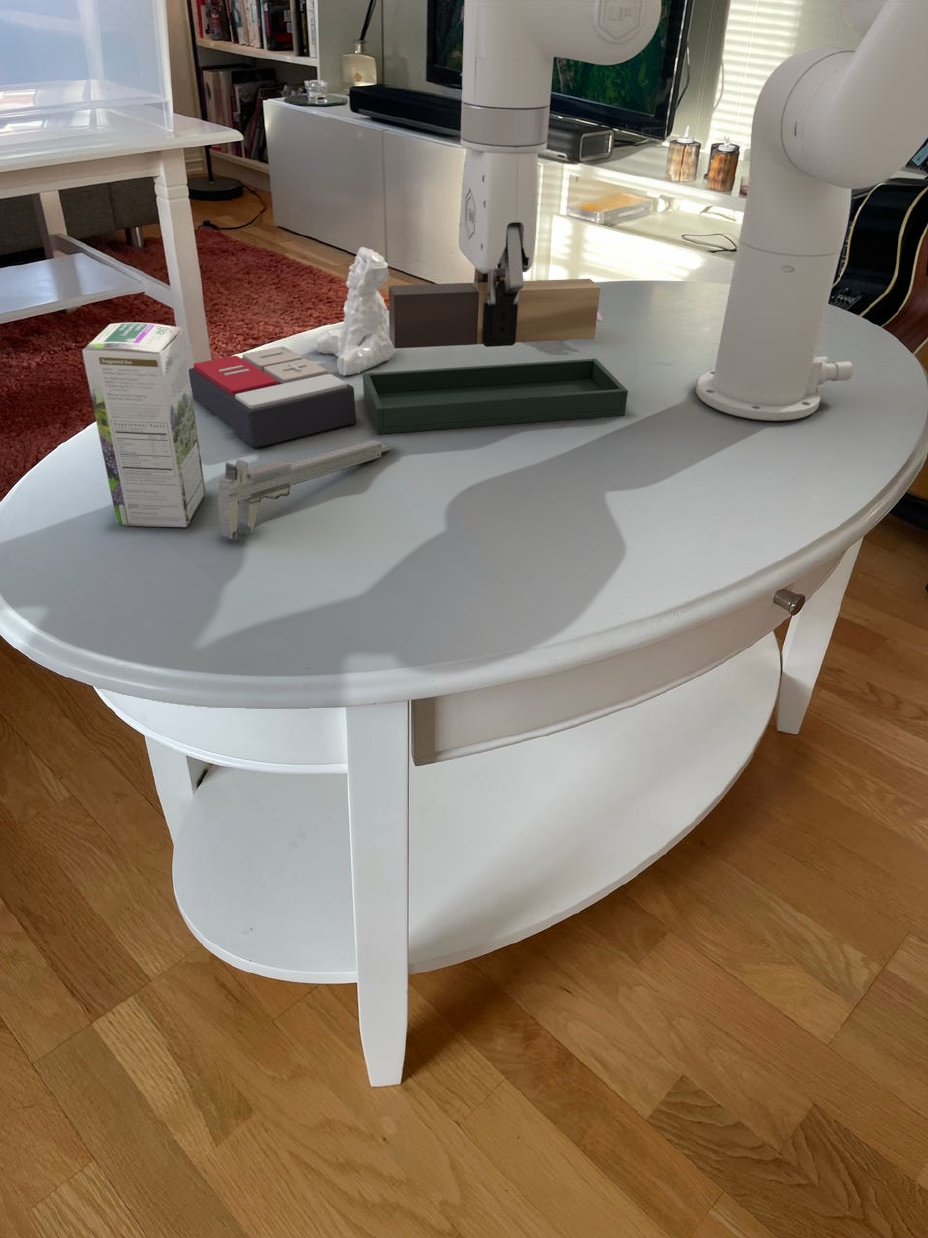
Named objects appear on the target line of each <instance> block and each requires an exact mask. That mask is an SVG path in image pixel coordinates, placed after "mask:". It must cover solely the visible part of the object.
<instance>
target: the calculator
mask: <svg viewBox="0 0 928 1238" xmlns="http://www.w3.org/2000/svg"><path fill="white" fill-rule="evenodd" d="M188 370H189V377H190V385H191V391H192V398H193V399H195V400H196V401H197V402H199V404H201V405H203V406H204V407H205V408H206V409H208V410H209V411H210V412H212V413H213V414H214V415H216V416H217V417H219V418H220V419H222V420H223V421H224V422H225V423H227V424H228V425H230V426H231V428H232V429H233V431H234V432H235V434H236V436H237V437H238V438H240V439H241V440H242V441H244V443H246V444H248V445H249V446H250V447H252V448H259V447H260V448H261V447H264V446H269V445H272V444H277V443H280V442H285V441H288V440H292V439H293V440H294V439H297V438H300V437H305V436H308V435H313V434H315V433H320V432H324V431H328V430H331V429H332V430H333V429H337V428H341V427H344V426H345V427H346V426H349V425H353V424H355V423H356V422H357V414H356V413H357V412H356V398H355V388H354V386H352V385H350V384H349V383H348V382H346V381H345V380H342V379H341V378H339V377H337V376H335V375H333V374H331V373H329V372H327V369H325V368H324V367H322V366H320V365H319V364H316V363H314V361H311V360H309V359H307V358H303V356H302V355H299V354H298V353H297V352H295V351H293V350H291V349H289V348H288V347H285V346H276V347H271V348H266V349H261V350H255V351H251V352H246V353H243V354H242V357H239V356H238V355H231V356H226V357H220V358H215V359H210V360H205V361H200V362H195V363H193V367H191V368H188Z"/></svg>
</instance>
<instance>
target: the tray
mask: <svg viewBox="0 0 928 1238" xmlns="http://www.w3.org/2000/svg"><path fill="white" fill-rule="evenodd" d="M362 390H363V399H364V402H365V404H366V407H367V410H368V412H369V415H370V417H371V420H372V422H373V425H374V428H375V431H376V433H377V435H385V434H398V433H412V432H425V431H426V432H427V431H437V430H448V429H449V430H451V429H462V428H477V427H488V426H490V427H491V426H501V425H502V426H503V425H513V424H514V425H515V424H526V423H527V424H528V423H539V422H551V421H552V422H553V421H564V420H565V421H566V420H567V421H568V420H578V419H593V418H604V417H605V418H606V417H618V416H625V414H626V409H627V402H628V394H629V390H628V389H627V388H626V387H625V386H624V385H623V384H622V383H621V382H620V381H619V379H617V378H616V377H615V376H614V374H612V373H611V372H610V370H608V369H607V368H606V367H605V366H604V365H603V363H602V362H600V360H598V359H597V358H585V359H584V358H583V359H581V358H580V359H568V360H553V361H552V360H551V361H539V362H538V361H535V362H522V363H521V362H519V363H506V364H505V363H504V364H490V365H489V364H488V365H473V366H460V367H458V366H457V367H446V368H445V367H443V368H430V369H429V368H426V369H412V370H411V369H410V370H395V371H381V372H369V373H367V372H366V373H362Z"/></svg>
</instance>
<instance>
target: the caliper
mask: <svg viewBox="0 0 928 1238" xmlns="http://www.w3.org/2000/svg"><path fill="white" fill-rule="evenodd" d="M390 450H391V447H390V446H389V445H386V444H383V443H382V442H380V441H377V440H374V439H372V440H369V441H365V442H361V443H358V444H355V445H351V446H346V447H343V448H339V449H336V450H333V451H329V452H325V453H322V454H319V455H315V456H311V457H308V458H304V459H300V460H298V461H294V462H291V463H290V462H286V461H283V460H280V461H279V460H278V461H275V462H272V463H268V464H264V465H260V466H256V467H255V466H254V467H252V468H249V462H247V461H244V460H242V459H239V458H238V459H237V460H236V461H235V464H233V463H230V462H227V461H225V472H224V473H225V475H224V476H223V477H219V482H218V495H217V509H218V516H219V523H220V529H221V535H222V536H223V537H225V538H227V539H229V540H233V541H237V538H238V532H239V534H242V535H245V536H247V537H249V536H251V534H252V533H253V531H254V528H255V524H256V520H257V516H258V513H259V509H260V506H261V501H262V499H264V498H266V499H271V500H277V499H279V498H281V497H288V496H289V495H290V493H291V491H290V490H291V486H295V485H297V484H300V483H303V482H306V481H310V480H313V479H317V478H319V477H322V476H325V475H329V474H332V473H336V472H339V471H342V470H345V469H349V468H351V467H355V466H359V465H362V464H365V463H368V462H372V461H375V460H379V459H381V458H382V453H385V452H388V451H390ZM238 523H239V526H238Z"/></svg>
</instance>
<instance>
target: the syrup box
mask: <svg viewBox="0 0 928 1238" xmlns="http://www.w3.org/2000/svg"><path fill="white" fill-rule="evenodd" d="M186 349H187V348H186V342H185V336H184V329H183V328H181V327H179V326H173V325H168V324H167V325H166V324H160V323H152V322H115V323H110V324H108V325H107V326H106V327H105V328H103V330H102V331H100V333H99V334H97V336H95V338H94V339H92V341H91V342H89V343H88V344H87V345H86V346H85V347H84V348H83V349H82V351H81V352H82V357H83V363H84V367H85V373H86V377H87V382H88V387H89V393H90V397H91V402H92V407H93V411H94V417H95V422H96V427H97V431H98V437H99V441H100V442H99V443H100V446H101V451H102V456H103V461H104V466H105V471H106V475H107V481H108V486H109V491H110V495H111V502H112V505H113V510H114V515H115V521H116V523H117V524H118V525H119V526H127V527H128V526H131V527H135V526H136V527H163V528H165V527H166V528H167V527H168V528H187V527H189V526H190V523H191V522H192V519H193V518H194V516H195V514H196V512H197V510H198V509H199V506H200V504H201V503H202V502H203V500H204V497H205V496H206V485H205V479H204V472H203V465H202V463H203V462H202V458H201V450H200V443H199V436H198V429H197V420H196V414H195V413H196V412H195V407H194V400H193V399H194V398H193V395H192V390H191V384H190V377H189V363H188V356H187V350H186Z"/></svg>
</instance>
